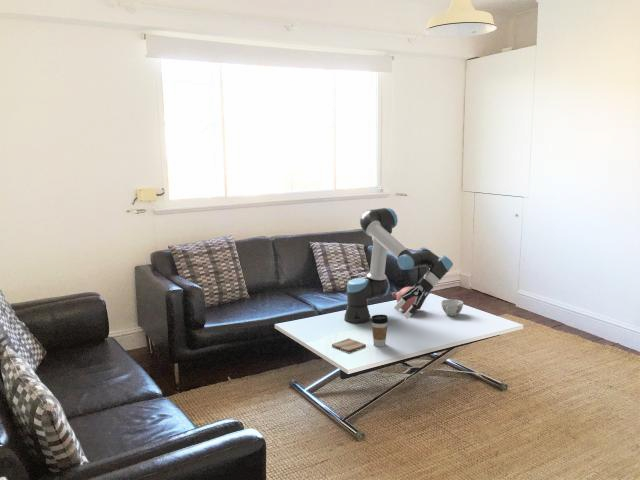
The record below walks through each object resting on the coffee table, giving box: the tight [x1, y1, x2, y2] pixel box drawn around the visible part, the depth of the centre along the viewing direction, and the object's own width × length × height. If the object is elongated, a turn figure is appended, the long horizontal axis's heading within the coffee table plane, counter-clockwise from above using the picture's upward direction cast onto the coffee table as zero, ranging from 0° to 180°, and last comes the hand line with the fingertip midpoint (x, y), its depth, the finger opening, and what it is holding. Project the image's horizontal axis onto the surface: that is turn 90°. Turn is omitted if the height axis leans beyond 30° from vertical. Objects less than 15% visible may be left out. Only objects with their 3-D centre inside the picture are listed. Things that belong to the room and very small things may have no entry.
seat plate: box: [331, 337, 366, 353], centre depth 270 cm, size 12×12×1 cm
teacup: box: [440, 299, 464, 317], centre depth 315 cm, size 15×12×8 cm
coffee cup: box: [370, 314, 389, 348], centre depth 271 cm, size 8×8×15 cm
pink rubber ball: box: [391, 286, 419, 313], centre depth 324 cm, size 15×20×15 cm
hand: (400, 313), depth 271 cm, fingers open, 13 cm apart
